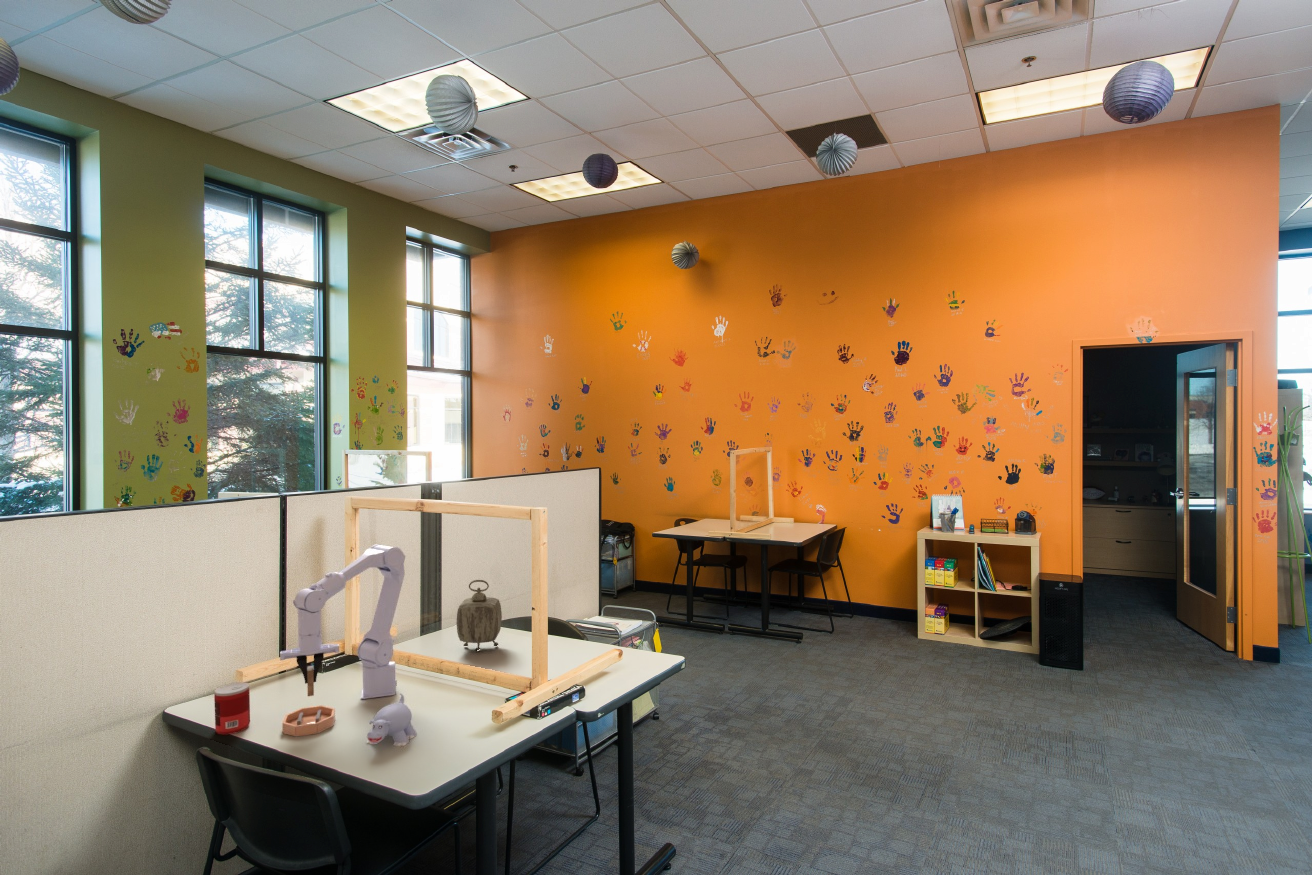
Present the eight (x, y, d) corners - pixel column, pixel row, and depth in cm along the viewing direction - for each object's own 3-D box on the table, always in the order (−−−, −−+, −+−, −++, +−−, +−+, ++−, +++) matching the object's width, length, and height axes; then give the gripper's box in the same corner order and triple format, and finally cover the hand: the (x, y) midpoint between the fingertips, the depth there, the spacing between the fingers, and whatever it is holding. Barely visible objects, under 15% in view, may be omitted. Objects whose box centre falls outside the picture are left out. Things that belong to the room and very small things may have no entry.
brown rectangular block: (313, 690, 193) (313, 665, 193) (313, 695, 189) (313, 670, 189) (307, 691, 192) (307, 666, 192) (307, 696, 189) (307, 670, 189)
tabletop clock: (502, 645, 250) (501, 576, 250) (497, 653, 241) (496, 582, 240) (461, 646, 250) (460, 577, 249) (455, 654, 241) (454, 583, 240)
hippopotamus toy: (352, 754, 170) (352, 716, 170) (384, 727, 185) (384, 692, 185) (393, 757, 169) (393, 719, 169) (422, 729, 184) (422, 694, 183)
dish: (336, 712, 194) (336, 703, 194) (332, 731, 183) (332, 721, 183) (287, 719, 190) (287, 709, 190) (280, 738, 179) (280, 728, 179)
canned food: (256, 724, 187) (255, 683, 187) (230, 737, 180) (229, 695, 179) (235, 719, 190) (234, 680, 189) (208, 732, 182) (207, 691, 182)
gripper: (338, 625, 197) (339, 672, 198) (280, 632, 191) (281, 680, 191) (339, 632, 191) (339, 680, 191) (279, 639, 185) (280, 689, 185)
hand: (310, 681), depth 191 cm, fingers closed on brown rectangular block, 1 cm apart
